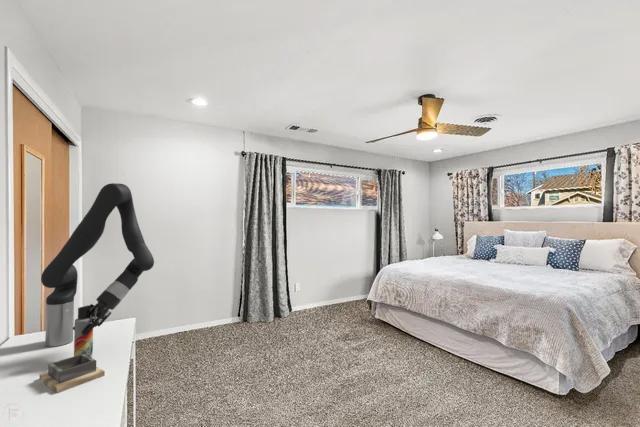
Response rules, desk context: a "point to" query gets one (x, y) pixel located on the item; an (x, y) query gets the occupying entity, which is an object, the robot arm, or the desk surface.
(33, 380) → the desk surface
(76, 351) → the lotion bottle
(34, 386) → the desk surface
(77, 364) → the socket board
